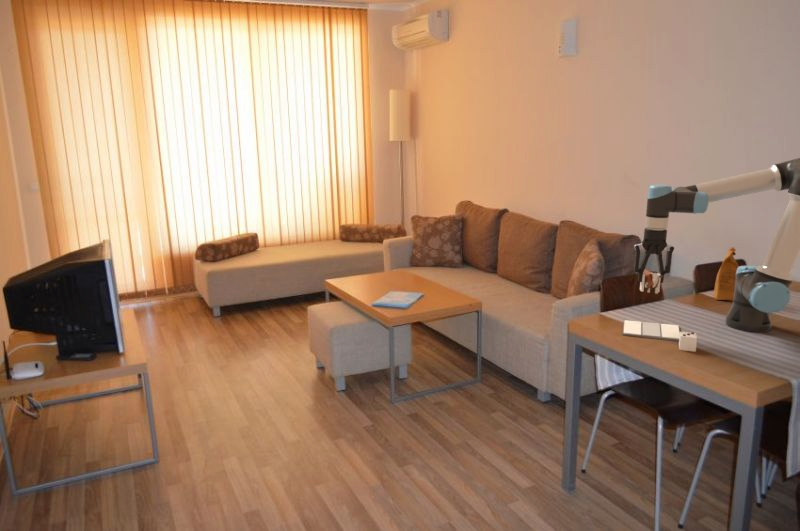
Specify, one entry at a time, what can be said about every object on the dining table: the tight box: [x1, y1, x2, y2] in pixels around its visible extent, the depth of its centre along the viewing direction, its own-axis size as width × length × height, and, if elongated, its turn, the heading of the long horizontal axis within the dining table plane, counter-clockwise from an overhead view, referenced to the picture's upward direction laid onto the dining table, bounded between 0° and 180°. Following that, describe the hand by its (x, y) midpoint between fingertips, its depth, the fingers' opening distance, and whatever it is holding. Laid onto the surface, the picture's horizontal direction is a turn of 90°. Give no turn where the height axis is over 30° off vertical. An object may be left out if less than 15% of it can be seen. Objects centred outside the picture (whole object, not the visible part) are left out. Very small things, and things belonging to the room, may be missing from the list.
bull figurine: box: [643, 268, 663, 295], centre depth 221 cm, size 4×13×8 cm, turn 0°
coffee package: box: [713, 246, 739, 302], centre depth 263 cm, size 10×12×22 cm
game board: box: [622, 319, 681, 342], centre depth 225 cm, size 20×16×1 cm
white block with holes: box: [678, 331, 698, 353], centre depth 207 cm, size 5×5×6 cm
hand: (649, 290), depth 222 cm, fingers closed on bull figurine, 5 cm apart
